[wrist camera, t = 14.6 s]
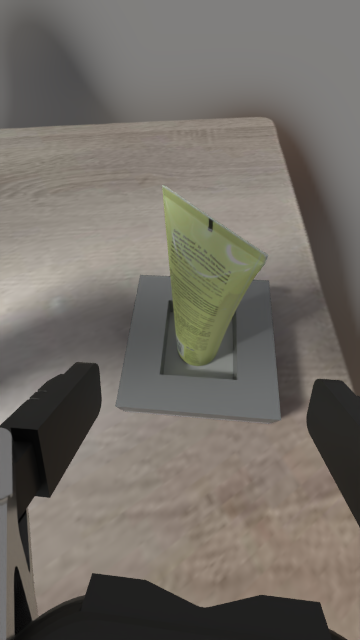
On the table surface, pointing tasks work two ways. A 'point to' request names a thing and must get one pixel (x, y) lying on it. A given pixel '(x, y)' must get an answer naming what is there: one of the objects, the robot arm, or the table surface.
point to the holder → (208, 380)
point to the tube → (205, 276)
